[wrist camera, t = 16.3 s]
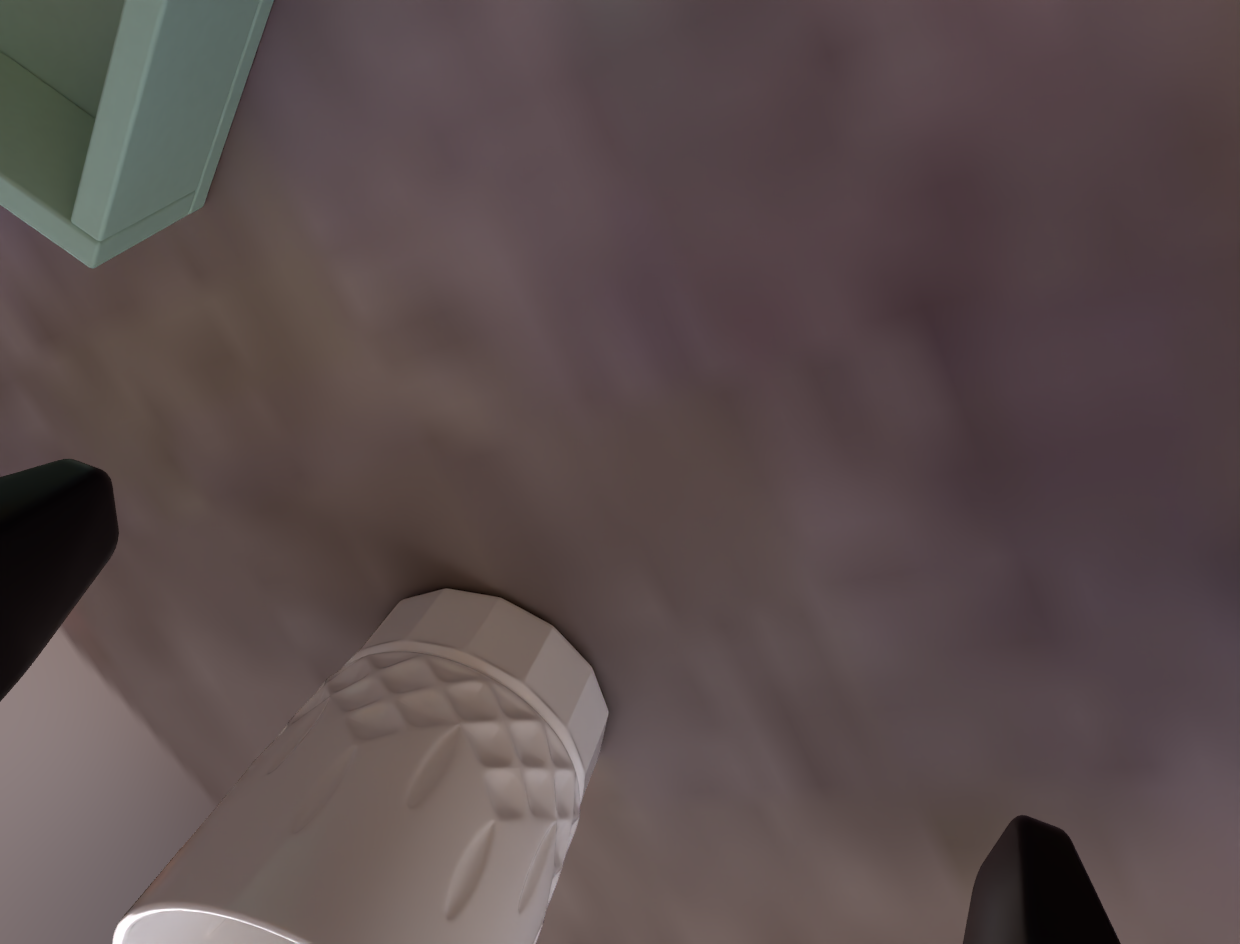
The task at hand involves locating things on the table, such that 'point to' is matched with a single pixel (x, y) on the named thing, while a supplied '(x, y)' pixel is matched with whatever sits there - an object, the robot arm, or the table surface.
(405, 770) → the white cup
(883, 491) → the table surface
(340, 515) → the table surface
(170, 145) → the green tray
